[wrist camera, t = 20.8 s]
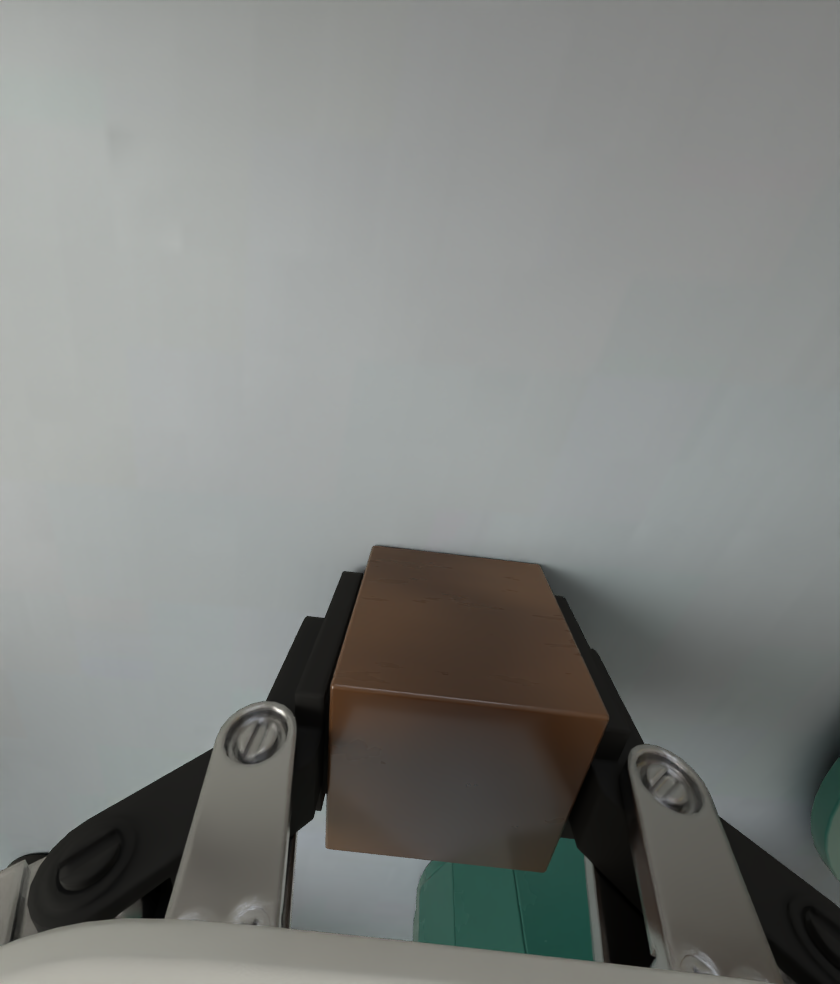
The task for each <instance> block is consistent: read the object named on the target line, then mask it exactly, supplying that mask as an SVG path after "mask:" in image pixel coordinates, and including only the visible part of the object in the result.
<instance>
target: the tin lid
mask: <svg viewBox="0 0 840 984" xmlns="http://www.w3.org/2000/svg"><path fill="white" fill-rule="evenodd" d="M811 834H812V837H813V841H814V845H815V848H816V849H817V851H818V853H819V855H820V857H821V858H822V860H823V861H824V863H825V864H826V865H827V867H828V868H829V869H830V871H831V872H832V874H833V875H834V876H835V877H836V878H837V880H838V881H839V882H840V757H839V758H838V759H837V760H836V761H835V763H834V764H833V766H832V767H831V769H830V770H829V772H828V773H827V774H826V776H825V777H824V779H823V781H822V783H821V785H820V787H819V790H818V792H817V794H816V796H815V799H814V803H813V807H812V811H811Z"/></svg>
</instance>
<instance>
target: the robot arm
mask: <svg viewBox="0 0 840 984" xmlns="http://www.w3.org/2000/svg"><path fill="white" fill-rule="evenodd" d="M362 579H363V573H354V572H346V571H344V572H343V573H342V575H341V578H340V580H339V583H338V585H337V588H336V590H335V593H334V595H333V598H332V601H331V603H330V606H329V608H328V611H327V613H326V616H325V618H320V617H311V616H307V617H306V618H305V619H304V621H303V623H302V625H301V627H300V629H299V631H298V633H297V635H296V638H295V640H294V642H293V644H292V646H291V648H290V650H289V653H288V655H287V657H286V659H285V661H284V663H283V665H282V668H281V670H280V672H279V674H278V676H277V678H276V680H275V683H274V685H273V687H272V689H271V691H270V693H269V695H268V698H267V700H266V701H262V702H258V703H253V704H250V705H248V706H246V707H244V708H242V709H240V710H238V711H237V712H236V713H234V714H233V715H232V716H231V717H229V719H228V720H227V721H226V722H225V723H224V725H223V726H222V727H221V729H220V731H219V733H218V735H217V738H216V740H215V744H214V747H213V748H212V749H211V750H209V751H207V752H205V753H204V754H202V755H200V756H198V757H197V758H195V759H193V760H191V761H190V762H188V763H186V764H184V765H183V766H181V767H179V768H177V769H176V770H174V771H172V772H170V773H169V774H167V775H165V776H163V777H162V778H160V779H158V780H156V781H155V782H153V783H151V784H149V785H148V786H146V787H144V788H142V789H141V790H139V791H137V792H135V793H134V794H132V795H130V796H128V797H127V798H125V799H123V800H121V801H120V802H118V803H116V804H114V805H113V806H111V807H109V808H107V809H106V810H104V811H102V812H100V813H99V814H97V815H95V816H94V817H92V818H90V819H88V820H87V821H85V822H84V823H82V824H81V825H79V826H78V827H76V828H75V829H74V830H72V831H71V832H69V833H68V834H67V835H66V836H65V837H64V838H63V839H62V840H61V841H60V842H59V843H58V844H57V845H56V846H55V847H54V848H53V849H52V850H51V851H50V853H49V854H48V855H47V856H46V857H44V858H42V859H40V860H38V861H36V862H34V863H32V864H30V865H28V864H27V862H26V860H23V861H21V862H18V863H16V864H14V865H12V866H10V867H8V868H6V869H4V870H1V871H0V984H840V908H839V907H838V906H837V905H835V904H834V903H833V902H832V901H830V900H829V899H828V898H826V897H825V896H824V895H822V894H821V893H820V892H818V891H817V890H816V889H814V888H813V887H812V886H811V885H809V884H808V883H807V882H805V881H804V880H803V879H801V878H800V877H799V876H797V875H796V874H795V873H793V872H792V871H791V870H789V869H788V868H787V867H785V866H784V865H783V864H781V863H780V862H779V861H777V860H776V859H775V858H774V857H772V856H771V855H770V854H768V853H767V852H766V851H764V850H763V849H762V848H760V847H759V846H758V845H756V844H755V843H754V842H752V841H751V840H750V839H748V838H747V837H746V836H744V835H743V834H742V833H741V832H739V831H738V830H737V829H735V828H734V827H733V826H731V825H730V824H729V823H727V822H726V821H725V820H723V819H722V818H721V817H719V815H718V813H717V810H716V808H715V805H714V803H713V800H712V798H711V795H710V793H709V791H708V789H707V787H706V785H705V784H704V782H703V781H702V779H701V778H700V777H699V776H698V774H697V773H696V772H695V771H694V769H692V768H691V767H690V766H689V765H688V764H687V763H686V762H685V761H684V760H683V759H681V758H680V757H678V756H677V755H675V754H674V753H672V752H670V751H668V750H666V749H664V748H661V747H659V746H655V745H650V744H644V743H643V741H642V739H641V737H640V735H639V733H638V731H637V729H636V727H635V725H634V723H633V721H632V719H631V717H630V715H629V713H628V711H627V709H626V707H625V705H624V704H623V702H622V700H621V698H620V696H619V694H618V692H617V690H616V688H615V686H614V684H613V682H612V680H611V678H610V676H609V674H608V672H607V670H606V668H605V666H604V664H603V663H602V661H601V659H600V657H599V655H598V654H597V652H596V651H595V650H593V649H590V647H589V645H588V643H587V641H586V639H585V637H584V635H583V633H582V631H581V629H580V627H579V625H578V623H577V621H576V619H575V617H574V615H573V613H572V611H571V609H570V607H569V605H568V603H567V601H566V599H565V598H564V597H562V596H554V597H555V599H556V601H557V603H558V605H559V608H560V610H561V612H562V614H563V616H564V618H565V621H566V623H567V625H568V627H569V629H570V632H571V634H572V636H573V638H574V640H575V642H576V645H577V647H578V649H579V651H580V653H581V655H582V658H583V660H584V662H585V664H586V666H587V669H588V671H589V673H590V675H591V677H592V679H593V682H594V684H595V686H596V688H597V690H598V692H599V695H600V697H601V699H602V701H603V703H604V706H605V708H606V710H607V712H608V714H609V722H608V725H607V727H606V729H605V732H604V734H603V737H602V739H601V741H600V744H599V746H598V748H597V751H596V753H595V756H594V758H593V760H592V763H591V765H590V768H589V770H588V772H587V775H586V777H585V779H584V782H583V784H582V787H581V789H580V791H579V794H578V796H577V799H576V801H575V803H574V806H573V808H572V810H571V813H570V815H569V818H568V820H567V822H566V825H565V827H564V830H563V832H562V834H561V837H560V838H568V839H575V843H576V846H577V848H578V849H579V850H580V851H581V852H582V853H583V854H584V866H585V877H586V887H587V898H588V909H589V920H590V931H591V942H592V952H593V961H586V960H577V959H568V958H559V957H550V956H541V955H532V954H523V953H514V952H505V951H495V950H486V949H477V948H468V947H459V946H450V945H440V944H431V943H422V942H413V941H403V940H394V939H384V938H374V937H365V936H355V935H345V934H336V933H326V932H317V931H307V930H297V929H291V918H292V904H293V890H294V876H295V862H296V849H297V835H298V830H300V829H301V828H302V827H303V826H305V825H306V824H307V823H308V822H310V821H311V820H312V819H313V818H314V814H315V810H317V811H321V809H322V805H323V801H324V797H325V793H326V794H327V773H328V741H329V709H330V685H331V682H332V678H333V675H334V672H335V668H336V665H337V662H338V658H339V655H340V652H341V649H342V645H343V642H344V639H345V635H346V632H347V629H348V625H349V622H350V619H351V616H352V612H353V609H354V606H355V602H356V599H357V596H358V592H359V589H360V586H361V582H362Z"/></svg>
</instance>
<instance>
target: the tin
mask: <svg viewBox="0 0 840 984" xmlns="http://www.w3.org/2000/svg"><path fill="white" fill-rule="evenodd" d="M413 942H422V943H431V944H440V945H450V946H459V947H468V948H477V949H486V950H495V951H505V952H514V953H523V954H532V955H541V956H550V957H559V958H568V959H577V960H586V961H593V952H592V942H591V931H590V920H589V909H588V898H587V887H586V877H585V866H584V854H583V853H582V852H581V851H580V850H579V849H578V848H577V846H576V843H575V839H568V838H560V839H559V841H558V844H557V846H556V849H555V851H554V853H553V856H552V858H551V861H550V863H549V865H548V868H547V870H546V872H544V873H540V872H531V871H522V870H513V869H504V868H495V867H486V866H477V865H468V864H459V863H450V862H441V861H431V862H430V863H429V864H428V866H427V867H426V869H425V871H424V872H423V874H422V876H421V878H420V881H419V884H418V887H417V896H416V911H415V916H414V923H413Z"/></svg>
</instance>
